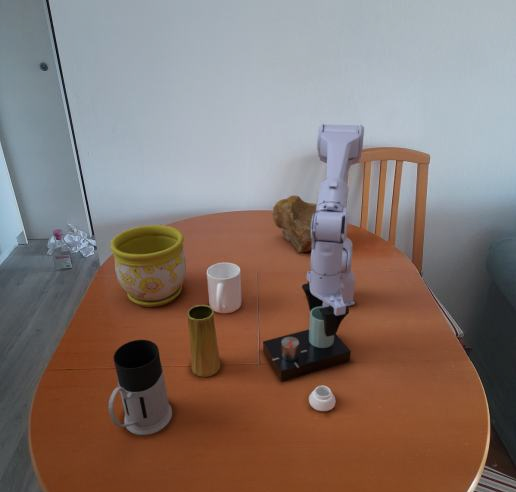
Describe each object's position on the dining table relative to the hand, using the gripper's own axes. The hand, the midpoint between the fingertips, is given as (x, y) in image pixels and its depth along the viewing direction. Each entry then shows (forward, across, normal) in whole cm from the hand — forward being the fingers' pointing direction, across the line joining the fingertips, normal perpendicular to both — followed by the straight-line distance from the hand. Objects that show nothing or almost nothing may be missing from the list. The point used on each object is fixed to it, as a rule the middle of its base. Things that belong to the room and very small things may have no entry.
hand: (322, 324), depth 95 cm
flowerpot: (+8, +36, +32) cm, 49 cm away
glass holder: (+8, -9, +40) cm, 41 cm away
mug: (+8, +22, +16) cm, 29 cm away
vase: (+8, +3, +25) cm, 26 cm away
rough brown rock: (+8, +49, -18) cm, 52 cm away
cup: (+4, 0, 0) cm, 4 cm away
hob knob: (+4, -3, +8) cm, 10 cm away
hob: (+7, -1, +4) cm, 8 cm away
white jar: (+7, -14, +6) cm, 17 cm away
